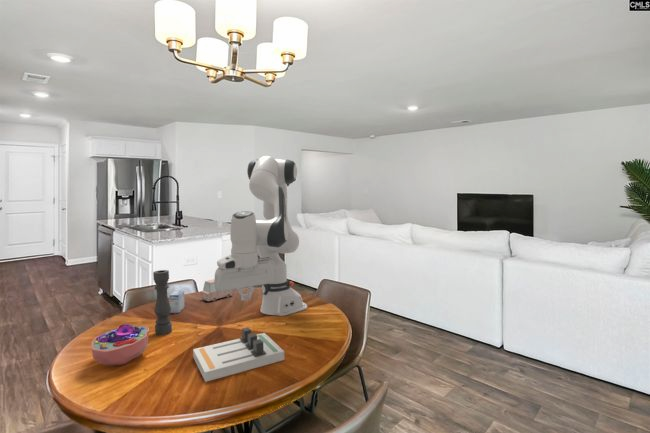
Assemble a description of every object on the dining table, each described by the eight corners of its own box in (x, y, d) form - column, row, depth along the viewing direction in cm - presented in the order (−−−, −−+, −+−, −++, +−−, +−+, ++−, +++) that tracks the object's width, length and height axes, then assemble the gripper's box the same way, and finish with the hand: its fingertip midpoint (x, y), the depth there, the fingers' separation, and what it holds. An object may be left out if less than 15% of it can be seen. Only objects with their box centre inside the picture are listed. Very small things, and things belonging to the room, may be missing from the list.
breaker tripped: (256, 342, 125) (255, 331, 125) (260, 346, 121) (259, 335, 121) (245, 345, 123) (244, 334, 123) (248, 349, 119) (248, 338, 119)
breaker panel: (264, 340, 134) (264, 332, 134) (284, 359, 119) (284, 351, 119) (193, 357, 121) (193, 349, 120) (205, 381, 105) (204, 372, 105)
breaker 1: (250, 336, 130) (249, 326, 130) (253, 340, 127) (253, 329, 126) (239, 339, 128) (239, 328, 128) (243, 343, 124) (242, 332, 124)
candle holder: (165, 336, 139) (162, 273, 137) (151, 334, 140) (148, 273, 138) (175, 329, 145) (172, 270, 143) (161, 328, 146) (159, 269, 144)
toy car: (234, 296, 189) (234, 278, 189) (209, 303, 178) (208, 284, 177) (225, 293, 196) (224, 275, 195) (199, 300, 184) (199, 281, 183)
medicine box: (175, 307, 172) (174, 290, 171) (184, 307, 172) (184, 290, 172) (169, 313, 164) (169, 295, 164) (179, 313, 165) (178, 295, 164)
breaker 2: (261, 349, 120) (261, 337, 119) (266, 353, 116) (266, 342, 116) (250, 352, 118) (250, 340, 117) (254, 356, 114) (254, 345, 114)
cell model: (76, 375, 110) (73, 340, 109) (116, 346, 130) (115, 316, 129) (128, 376, 109) (126, 341, 108) (161, 347, 129) (160, 317, 128)
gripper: (269, 254, 127) (270, 292, 128) (212, 261, 116) (213, 302, 117) (276, 257, 121) (277, 296, 123) (217, 265, 111) (218, 307, 112)
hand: (246, 299), depth 120 cm, fingers closed
